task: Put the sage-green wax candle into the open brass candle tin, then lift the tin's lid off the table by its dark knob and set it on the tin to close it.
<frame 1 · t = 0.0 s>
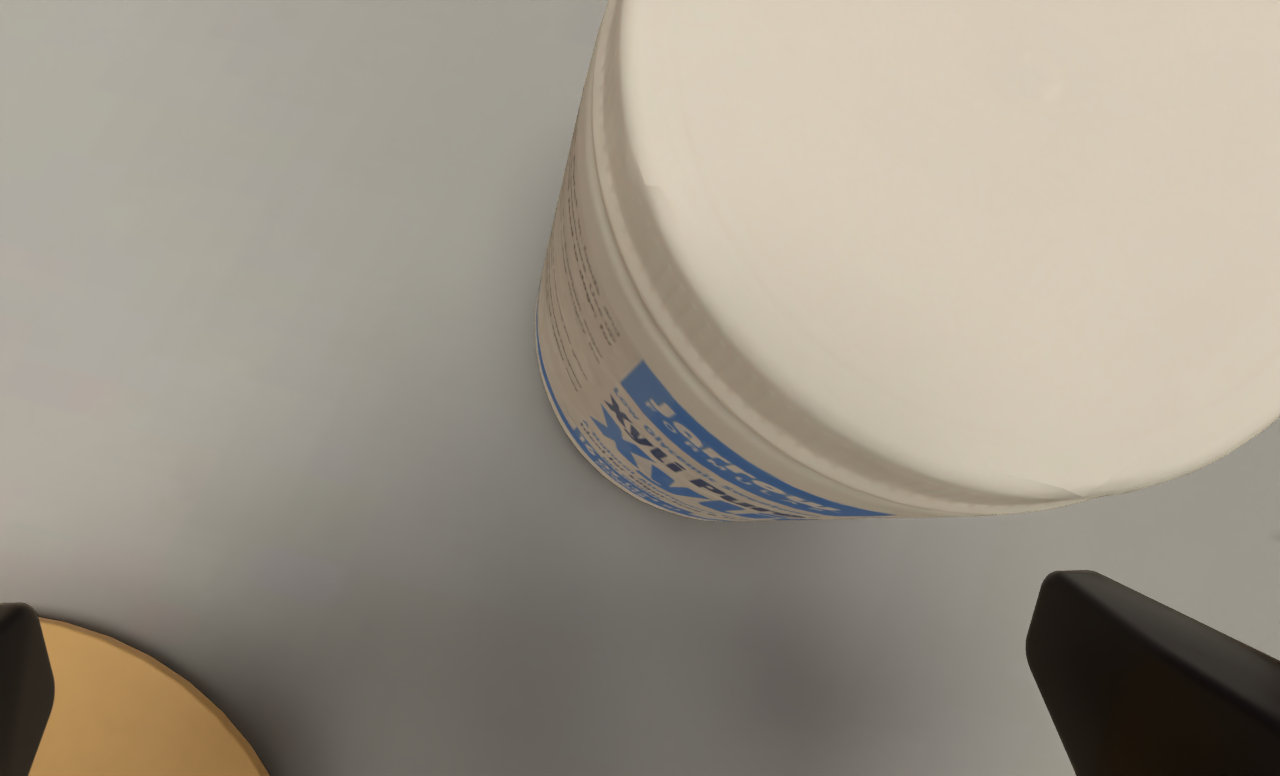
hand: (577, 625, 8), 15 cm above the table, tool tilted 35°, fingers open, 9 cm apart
supplement tub: (717, 339, 25), on the table
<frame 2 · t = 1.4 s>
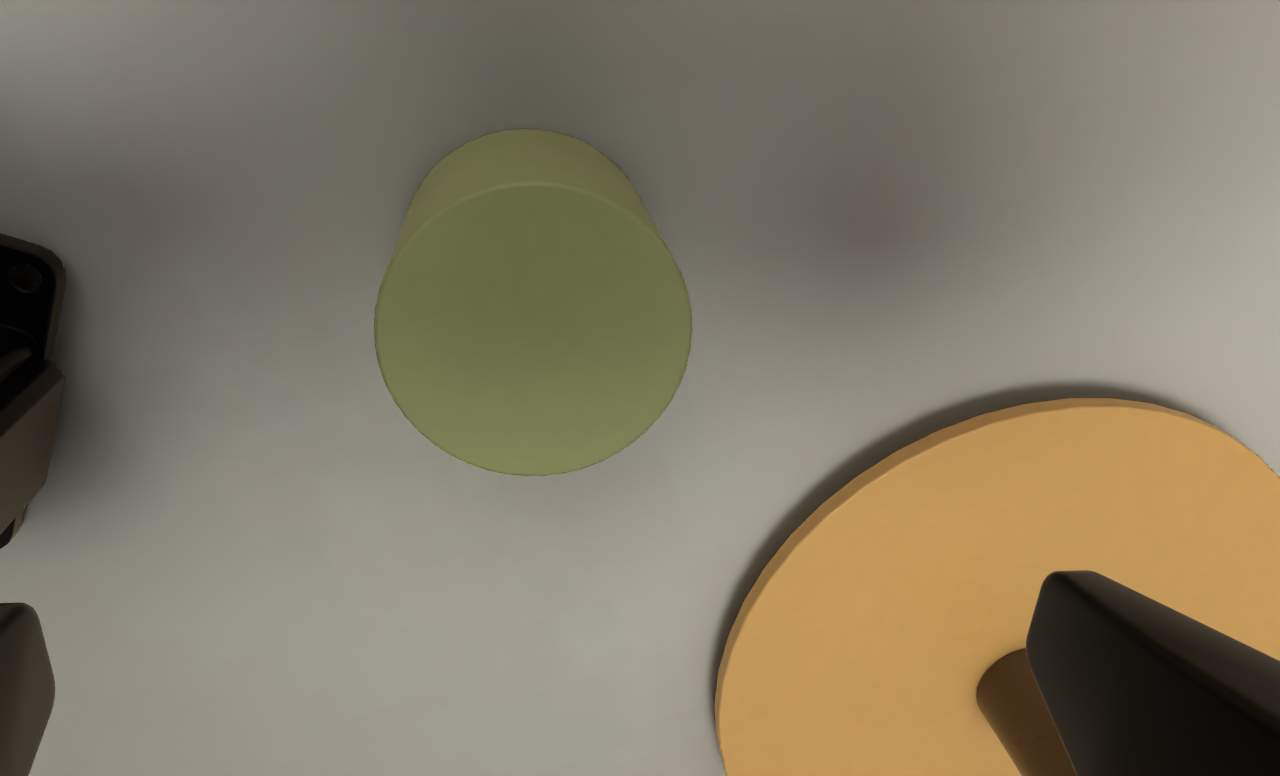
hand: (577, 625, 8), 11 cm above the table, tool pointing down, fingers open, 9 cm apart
candle: (529, 254, 18), on the table
tin lid: (1011, 670, 24), point 1 cm above the table
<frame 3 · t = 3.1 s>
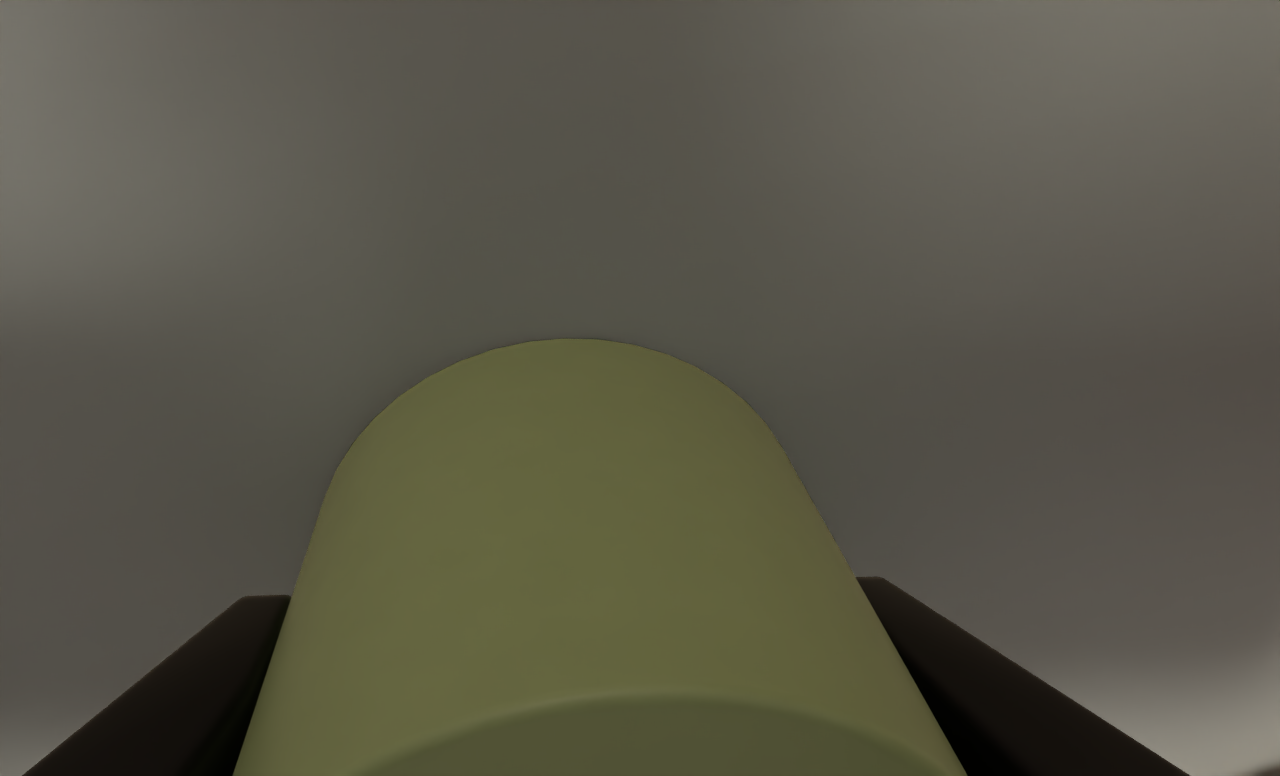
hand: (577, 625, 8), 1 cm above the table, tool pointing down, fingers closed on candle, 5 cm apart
candle: (567, 559, 9), on the table, touching gripper
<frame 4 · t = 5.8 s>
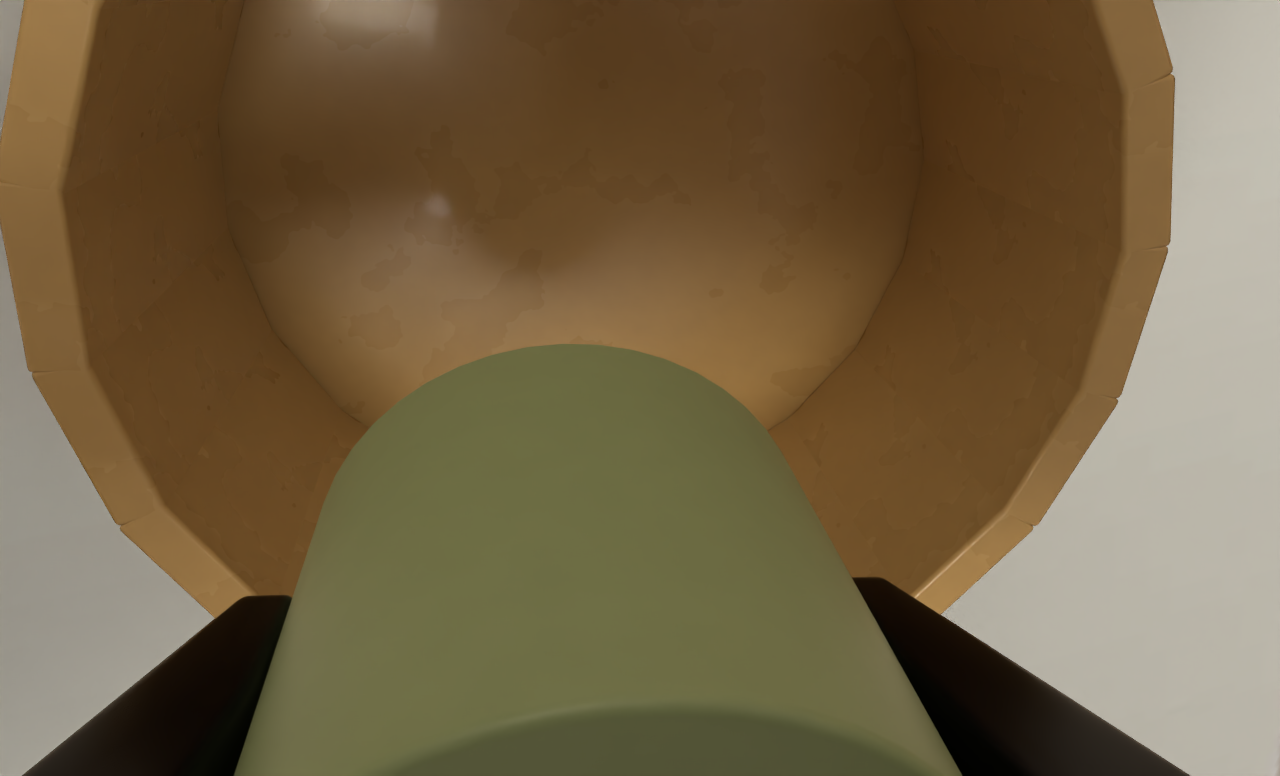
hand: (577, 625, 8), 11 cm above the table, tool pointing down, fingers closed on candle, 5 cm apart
candle: (566, 564, 9), point 10 cm above the table, touching gripper
tin: (586, 186, 18), on the table
when the fingers open (8 cm above the table, at t = 17.5 s): tin lid stays where it is, resting on tin.
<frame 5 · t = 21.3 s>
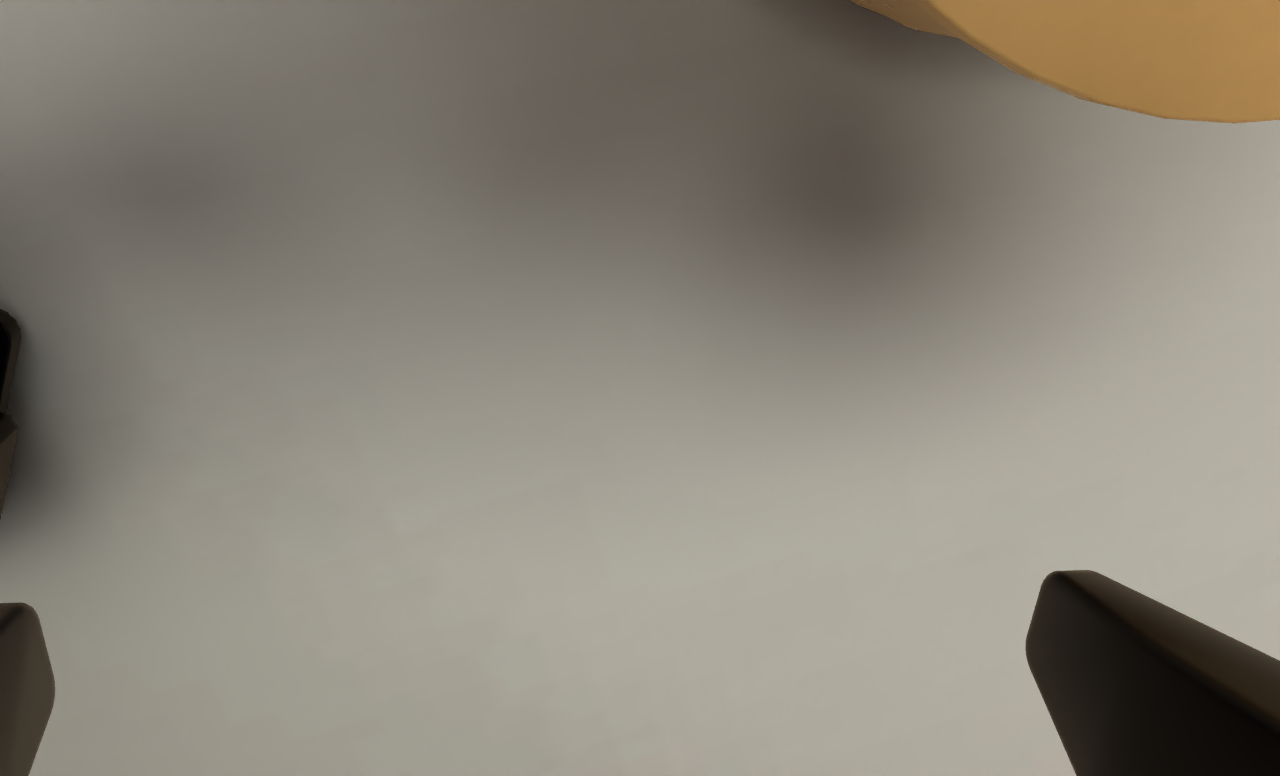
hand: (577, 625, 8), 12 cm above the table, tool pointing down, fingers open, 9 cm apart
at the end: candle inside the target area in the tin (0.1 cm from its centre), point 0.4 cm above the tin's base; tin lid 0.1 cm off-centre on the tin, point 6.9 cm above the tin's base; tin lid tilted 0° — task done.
